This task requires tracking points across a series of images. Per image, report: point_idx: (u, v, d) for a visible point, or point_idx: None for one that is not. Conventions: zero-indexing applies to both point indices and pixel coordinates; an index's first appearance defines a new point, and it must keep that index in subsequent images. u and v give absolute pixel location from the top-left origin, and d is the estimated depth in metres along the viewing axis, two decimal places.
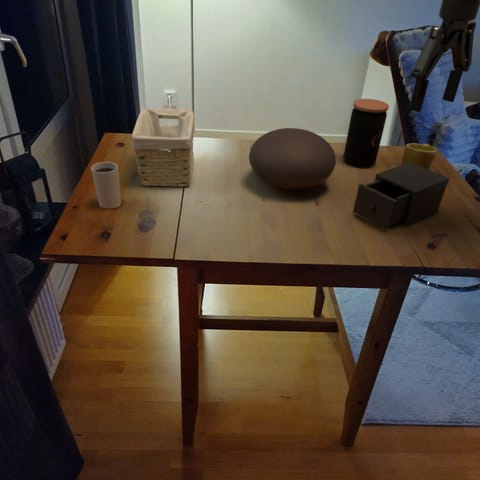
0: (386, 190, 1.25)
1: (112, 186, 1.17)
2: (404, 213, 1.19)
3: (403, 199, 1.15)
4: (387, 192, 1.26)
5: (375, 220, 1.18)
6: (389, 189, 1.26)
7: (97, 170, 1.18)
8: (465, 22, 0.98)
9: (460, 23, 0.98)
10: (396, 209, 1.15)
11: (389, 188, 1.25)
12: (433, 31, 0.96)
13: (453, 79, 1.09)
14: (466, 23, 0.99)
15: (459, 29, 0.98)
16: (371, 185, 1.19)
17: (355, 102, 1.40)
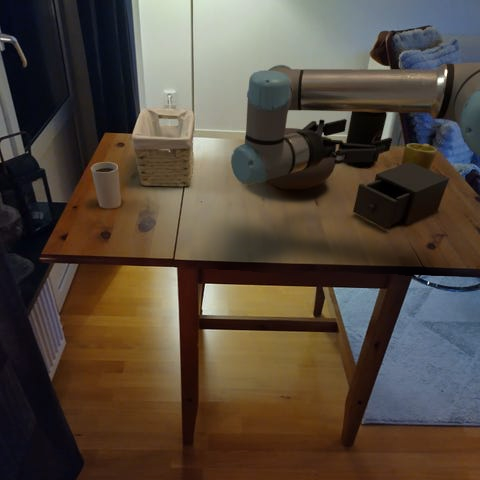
0: (386, 190, 1.25)
1: (112, 186, 1.17)
2: (404, 213, 1.19)
3: (403, 199, 1.15)
4: (387, 192, 1.26)
5: (375, 220, 1.18)
6: (389, 189, 1.26)
7: (97, 170, 1.18)
8: None
9: None
10: (396, 209, 1.15)
11: (389, 188, 1.25)
12: (341, 159, 0.95)
13: (331, 129, 1.08)
14: None
15: None
16: (371, 185, 1.19)
17: None
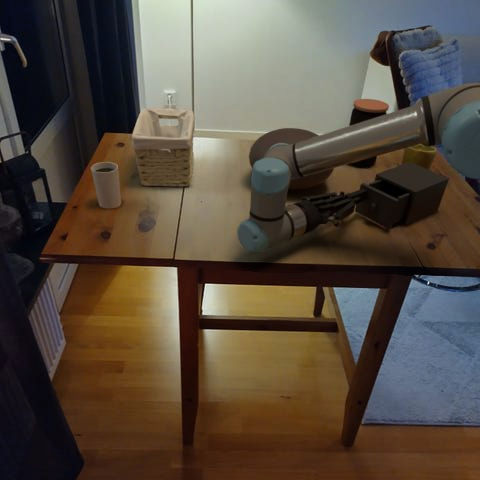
0: (388, 189, 1.25)
1: (112, 186, 1.17)
2: (406, 212, 1.19)
3: (405, 198, 1.15)
4: (389, 191, 1.26)
5: (377, 219, 1.19)
6: (391, 188, 1.26)
7: (97, 170, 1.18)
8: None
9: None
10: (398, 208, 1.16)
11: (391, 187, 1.26)
12: (339, 222, 1.08)
13: None
14: None
15: None
16: (373, 184, 1.20)
17: (355, 102, 1.40)
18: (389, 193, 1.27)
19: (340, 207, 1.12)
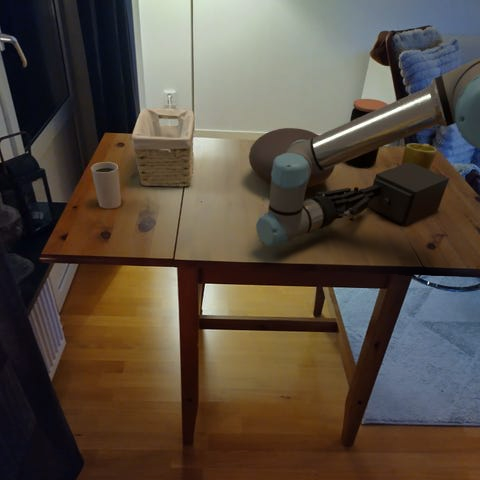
0: None
1: (112, 186, 1.17)
2: None
3: None
4: None
5: (390, 214, 1.21)
6: None
7: (97, 170, 1.18)
8: None
9: None
10: None
11: None
12: (354, 216, 1.11)
13: None
14: None
15: None
16: None
17: (355, 102, 1.40)
18: None
19: (355, 202, 1.15)
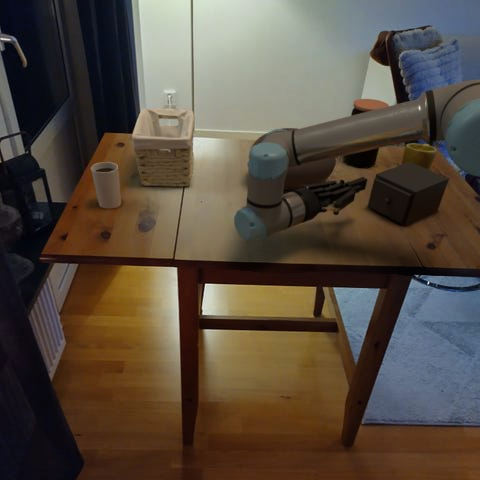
0: None
1: (112, 186, 1.17)
2: None
3: None
4: None
5: (390, 214, 1.21)
6: None
7: (97, 170, 1.18)
8: None
9: None
10: None
11: None
12: (339, 210, 1.05)
13: None
14: None
15: None
16: None
17: (355, 102, 1.40)
18: None
19: (340, 195, 1.10)
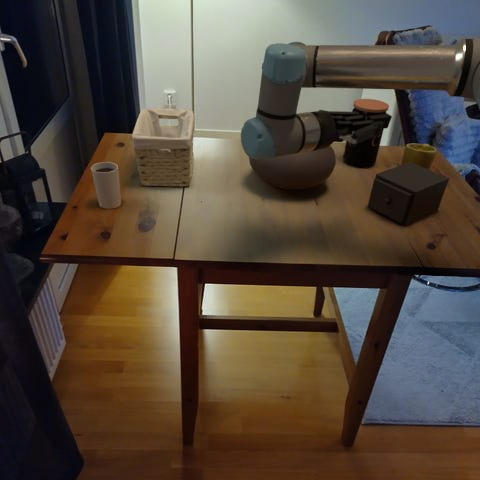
0: None
1: (112, 186, 1.17)
2: None
3: None
4: None
5: (390, 214, 1.21)
6: None
7: (97, 170, 1.18)
8: None
9: None
10: None
11: None
12: (356, 142, 0.96)
13: None
14: None
15: None
16: None
17: (355, 102, 1.40)
18: None
19: (360, 128, 1.00)
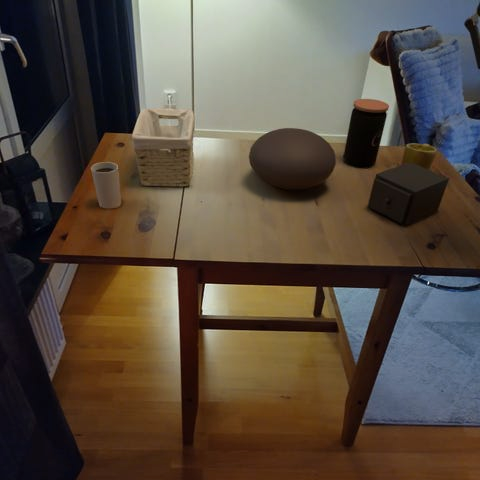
0: None
1: (112, 186, 1.17)
2: None
3: None
4: None
5: (390, 214, 1.21)
6: None
7: (97, 170, 1.18)
8: None
9: None
10: None
11: None
12: None
13: None
14: None
15: None
16: None
17: (355, 102, 1.40)
18: None
19: None
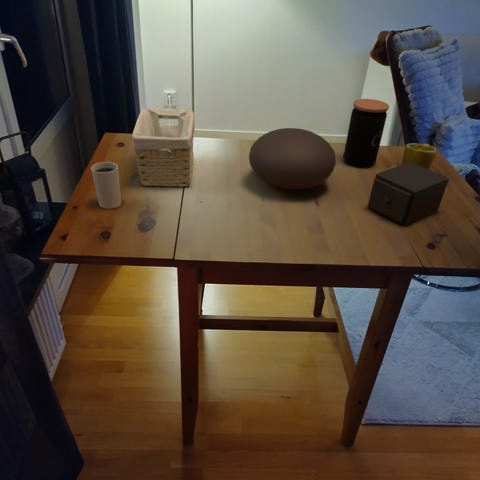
0: None
1: (112, 186, 1.17)
2: None
3: None
4: None
5: (390, 214, 1.21)
6: None
7: (97, 170, 1.18)
8: None
9: None
10: None
11: None
12: None
13: None
14: None
15: None
16: None
17: (355, 102, 1.40)
18: None
19: None
